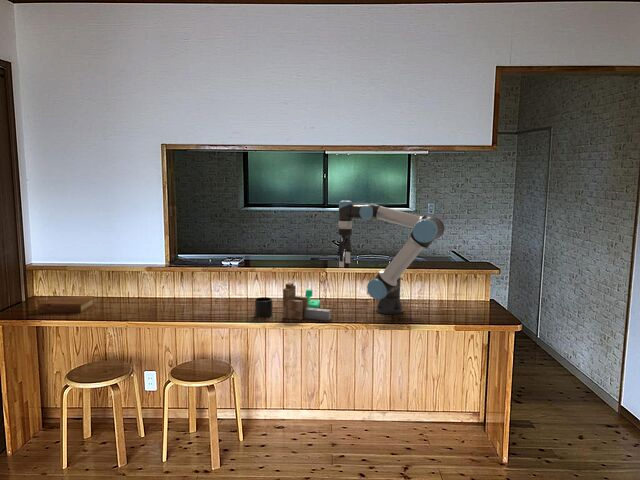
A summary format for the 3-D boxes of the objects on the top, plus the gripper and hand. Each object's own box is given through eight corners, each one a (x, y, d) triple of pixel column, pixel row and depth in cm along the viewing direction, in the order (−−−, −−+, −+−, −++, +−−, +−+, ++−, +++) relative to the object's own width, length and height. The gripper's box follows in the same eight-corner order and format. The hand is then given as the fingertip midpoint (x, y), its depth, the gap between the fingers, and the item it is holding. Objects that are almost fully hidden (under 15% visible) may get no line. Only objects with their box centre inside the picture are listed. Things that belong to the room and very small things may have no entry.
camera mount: (317, 309, 295) (317, 292, 293) (304, 308, 296) (304, 291, 294) (320, 304, 306) (320, 287, 305) (308, 303, 307) (308, 287, 306)
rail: (330, 318, 276) (330, 306, 275) (328, 320, 272) (328, 308, 271) (296, 315, 282) (296, 302, 281) (294, 317, 278) (294, 304, 277)
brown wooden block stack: (308, 314, 284) (308, 282, 281) (301, 319, 273) (301, 287, 271) (290, 312, 287) (290, 281, 285) (283, 317, 277) (283, 285, 274)
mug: (275, 312, 288) (275, 296, 287) (269, 318, 276) (269, 301, 275) (259, 311, 290) (259, 295, 288) (253, 317, 278) (252, 301, 277)
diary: (39, 314, 283) (38, 304, 282) (55, 305, 301) (54, 296, 300) (80, 313, 283) (80, 303, 283) (94, 305, 302) (94, 295, 301)
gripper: (344, 225, 299) (344, 260, 302) (332, 230, 275) (332, 268, 278) (357, 226, 296) (356, 261, 299) (345, 230, 273) (345, 269, 276)
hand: (344, 265), depth 289 cm, fingers open, 13 cm apart
